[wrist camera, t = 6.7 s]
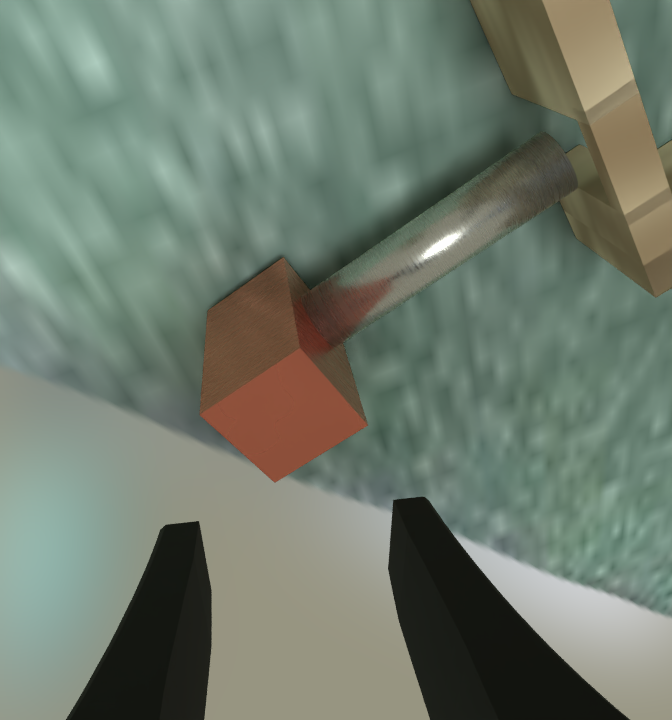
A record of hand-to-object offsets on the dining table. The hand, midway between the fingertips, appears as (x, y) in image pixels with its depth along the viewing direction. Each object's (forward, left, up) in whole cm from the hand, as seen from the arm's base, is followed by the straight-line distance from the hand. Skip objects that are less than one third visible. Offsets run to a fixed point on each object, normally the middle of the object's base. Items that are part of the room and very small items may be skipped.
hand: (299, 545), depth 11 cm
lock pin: (0, -4, -9) cm, 10 cm away
